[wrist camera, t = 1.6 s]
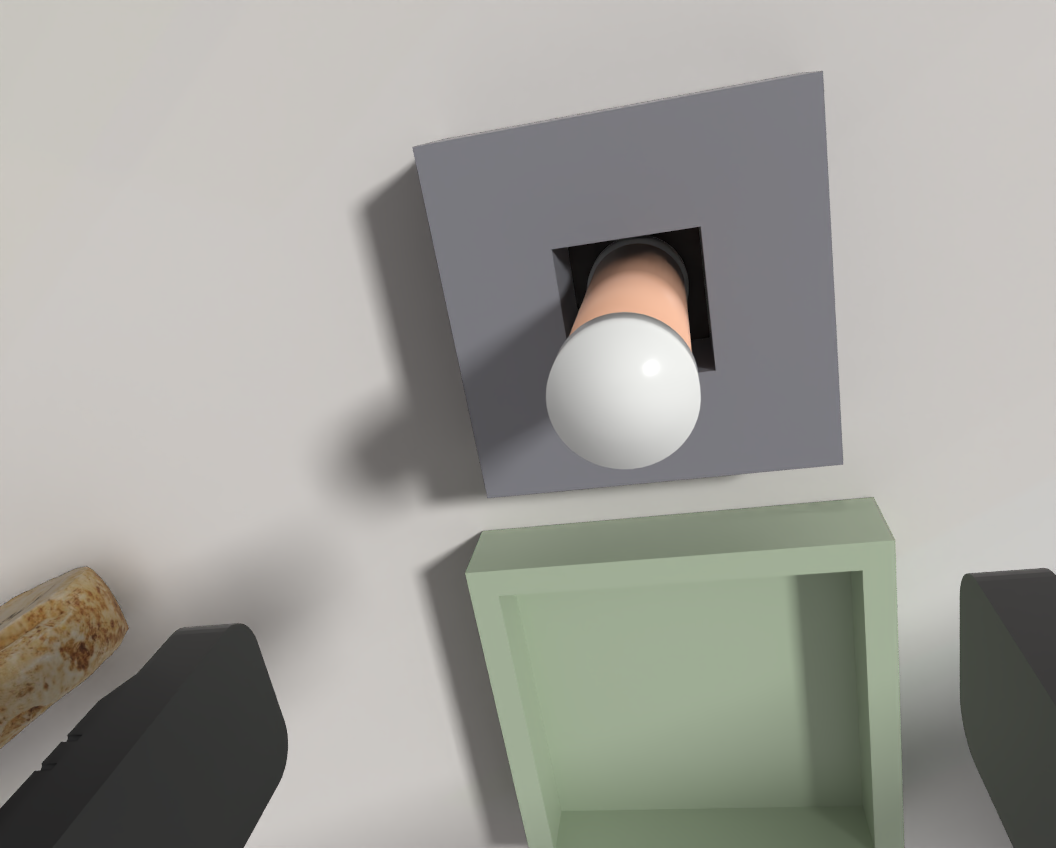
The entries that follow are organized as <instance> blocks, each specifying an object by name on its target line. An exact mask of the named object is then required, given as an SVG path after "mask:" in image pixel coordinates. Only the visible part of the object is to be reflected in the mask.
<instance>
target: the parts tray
mask: <svg viewBox="0 0 1056 848" xmlns="http://www.w3.org/2000/svg"><path fill="white" fill-rule="evenodd" d="M465 575H466V579H467V584H468V588H469V592H470V597H471V601H472V605H473V609H474V614H475V618H476V622H477V627H478V631H479V635H480V640H481V644H482V648H483V653H484V657H485V661H486V666H487V670H488V674H489V678H490V683H491V687H492V691H493V696H494V700H495V704H496V709H497V713H498V717H499V722H500V726H501V730H502V735H503V739H504V743H505V747H506V752H507V756H508V760H509V765H510V769H511V773H512V778H513V782H514V786H515V791H516V795H517V799H518V803H519V808H520V812H521V816H522V821H523V825H524V829H525V834H526V838H527V842H528V847H529V848H904V822H903V788H902V754H901V721H900V687H899V654H898V620H897V586H896V553H895V539H894V537H893V535H892V533H891V531H890V529H889V527H888V525H887V523H886V521H885V519H884V517H883V515H882V513H881V511H880V509H879V507H878V505H877V503H876V501H875V499H874V497H870V498H859V499H847V500H836V501H824V502H813V503H801V504H789V505H778V506H766V507H755V508H743V509H732V510H720V511H709V512H697V513H686V514H674V515H662V516H651V517H639V518H628V519H616V520H605V521H593V522H582V523H570V524H559V525H547V526H535V527H524V528H512V529H501V530H489V531H482V533H481V536H480V538H479V541H478V543H477V545H476V548H475V550H474V553H473V555H472V558H471V560H470V562H469V565H468V567H467V570H466V572H465Z"/></svg>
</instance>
